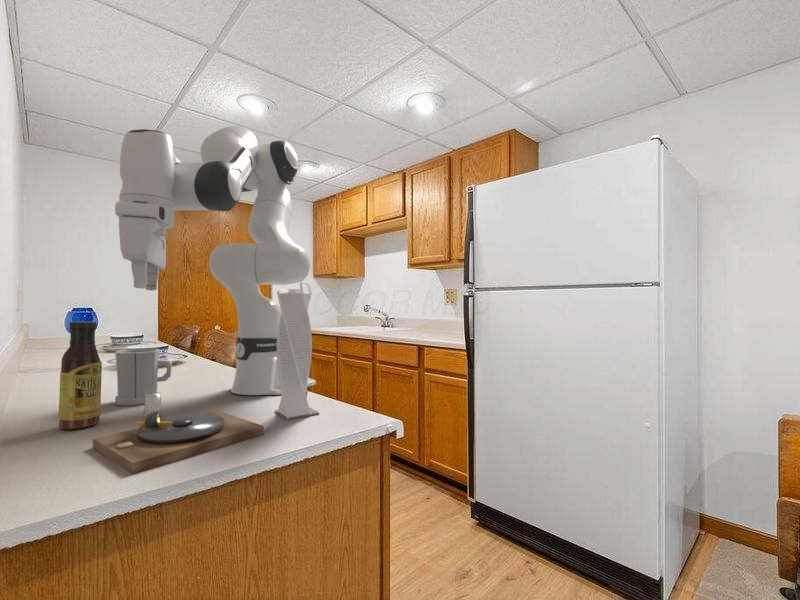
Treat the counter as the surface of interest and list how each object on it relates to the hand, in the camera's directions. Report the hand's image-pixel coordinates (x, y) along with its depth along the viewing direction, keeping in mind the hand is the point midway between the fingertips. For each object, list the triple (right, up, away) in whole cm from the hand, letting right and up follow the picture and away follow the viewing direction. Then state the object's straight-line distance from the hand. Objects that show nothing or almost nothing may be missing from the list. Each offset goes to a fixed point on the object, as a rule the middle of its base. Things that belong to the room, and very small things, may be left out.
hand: (146, 289), depth 76 cm
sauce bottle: (-13, -26, +1) cm, 29 cm away
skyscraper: (+26, -26, +10) cm, 38 cm away
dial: (+10, -24, -7) cm, 27 cm away
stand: (+10, -26, -6) cm, 29 cm away
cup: (-14, -26, +21) cm, 36 cm away
